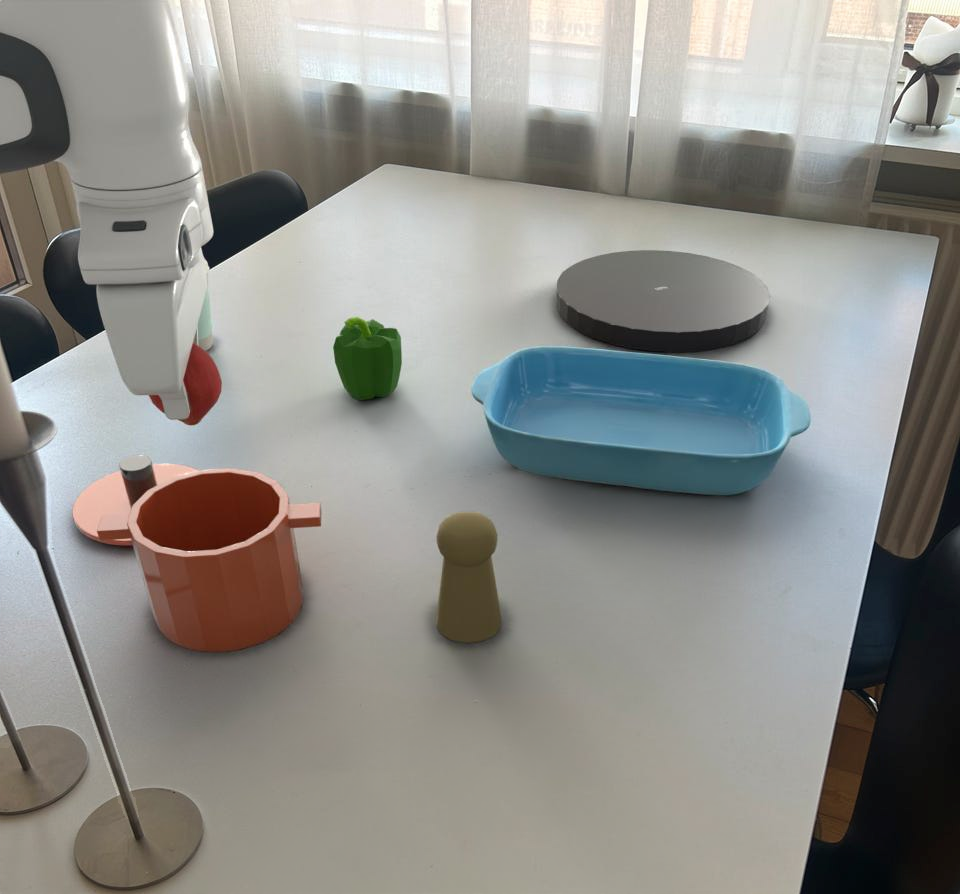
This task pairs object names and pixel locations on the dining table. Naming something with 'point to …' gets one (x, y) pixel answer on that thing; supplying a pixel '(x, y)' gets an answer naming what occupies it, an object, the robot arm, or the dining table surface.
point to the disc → (662, 300)
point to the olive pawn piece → (467, 578)
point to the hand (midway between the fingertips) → (185, 393)
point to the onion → (198, 385)
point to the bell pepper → (368, 358)
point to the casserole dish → (639, 418)
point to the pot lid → (120, 493)
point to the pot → (217, 556)
